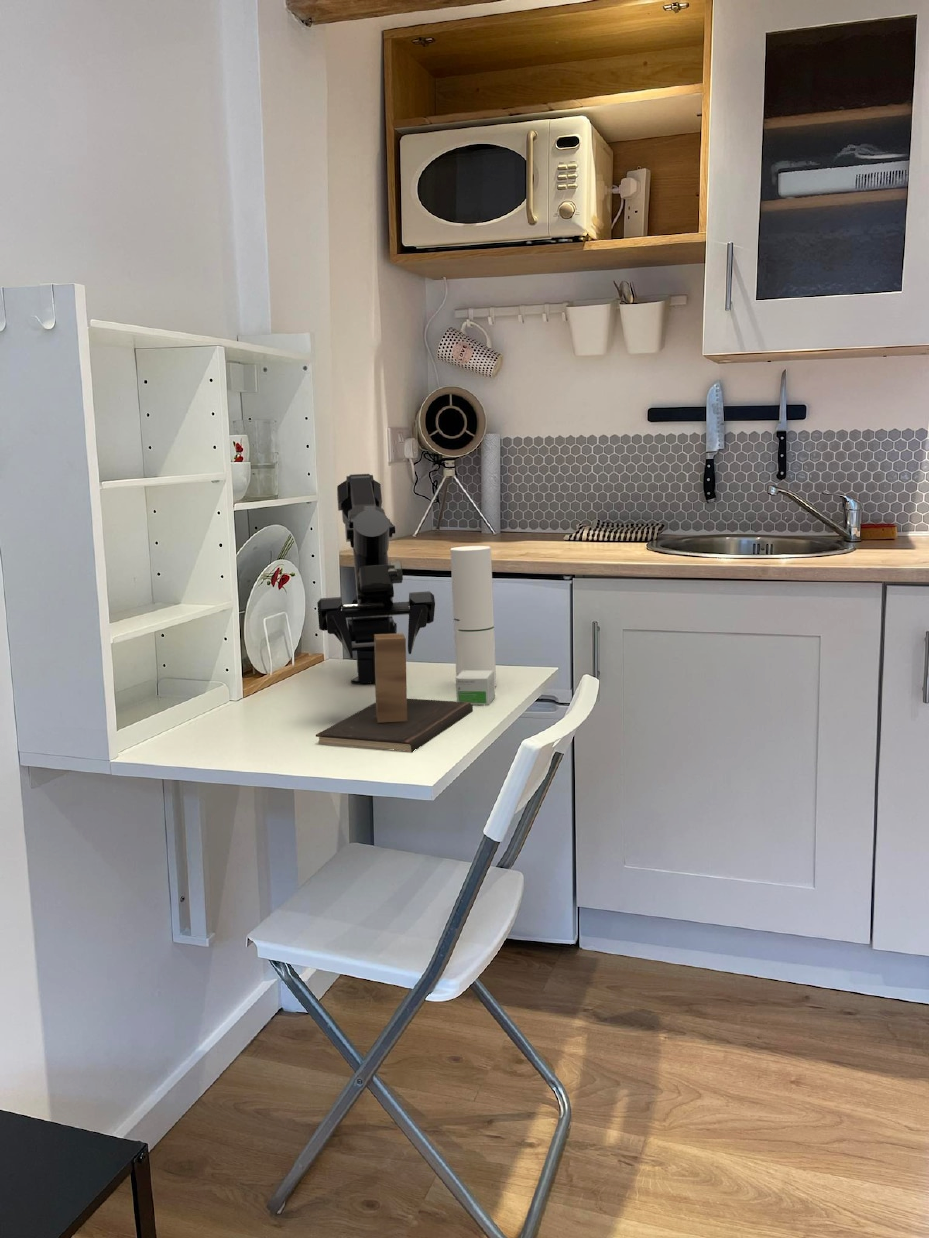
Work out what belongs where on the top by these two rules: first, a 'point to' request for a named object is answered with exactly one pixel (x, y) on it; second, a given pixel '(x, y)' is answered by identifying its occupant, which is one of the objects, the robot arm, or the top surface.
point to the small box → (475, 687)
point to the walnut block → (390, 677)
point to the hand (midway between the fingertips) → (380, 654)
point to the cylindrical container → (473, 608)
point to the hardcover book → (396, 726)
